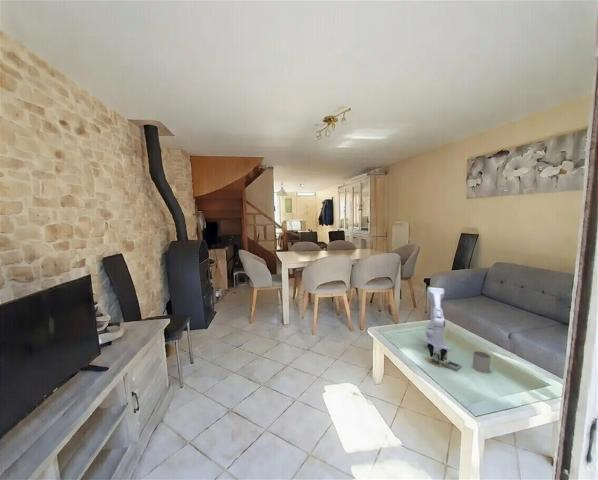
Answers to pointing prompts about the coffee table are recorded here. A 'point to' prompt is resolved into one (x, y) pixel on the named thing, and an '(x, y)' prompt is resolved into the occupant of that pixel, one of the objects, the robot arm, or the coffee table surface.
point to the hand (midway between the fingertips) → (436, 358)
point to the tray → (437, 364)
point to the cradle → (452, 366)
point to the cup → (481, 362)
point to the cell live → (436, 358)
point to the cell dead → (445, 356)
